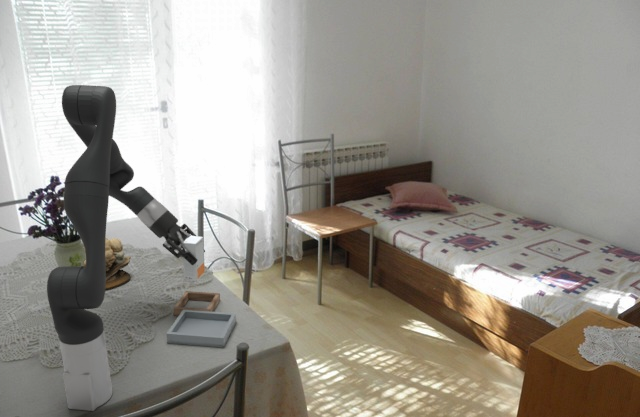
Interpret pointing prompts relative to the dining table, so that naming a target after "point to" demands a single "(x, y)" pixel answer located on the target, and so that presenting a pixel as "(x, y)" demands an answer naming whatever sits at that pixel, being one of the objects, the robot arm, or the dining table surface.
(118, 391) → the dining table surface
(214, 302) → the socket block
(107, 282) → the beige lumpy sculpture
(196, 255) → the skincare box
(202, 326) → the tray
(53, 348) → the dining table surface
